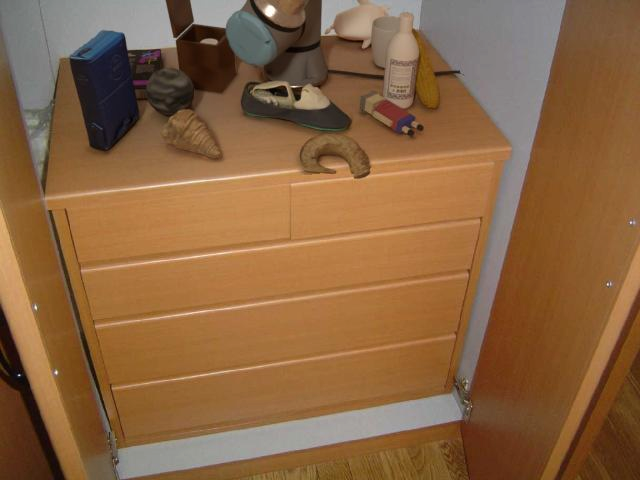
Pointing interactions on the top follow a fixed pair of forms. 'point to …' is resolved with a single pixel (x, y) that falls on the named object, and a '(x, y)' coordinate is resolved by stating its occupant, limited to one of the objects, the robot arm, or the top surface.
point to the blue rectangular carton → (105, 88)
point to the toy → (389, 113)
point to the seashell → (190, 134)
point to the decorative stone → (170, 91)
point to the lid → (179, 15)
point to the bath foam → (401, 64)
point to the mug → (382, 37)
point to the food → (425, 77)
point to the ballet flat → (293, 105)
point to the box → (143, 68)
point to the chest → (206, 58)
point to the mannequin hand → (358, 22)
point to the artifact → (335, 154)
